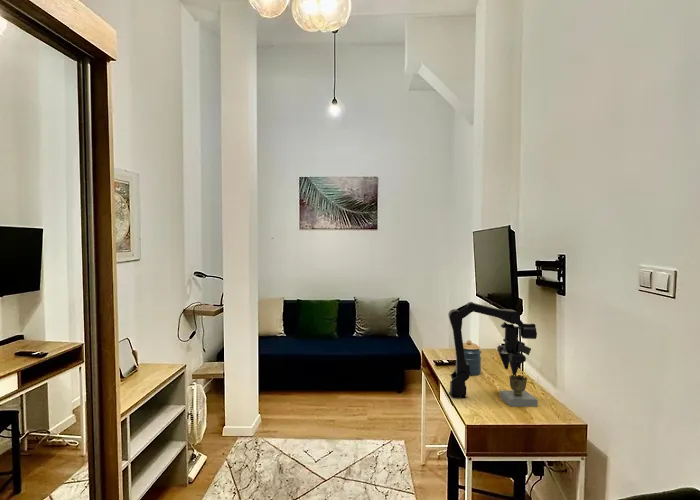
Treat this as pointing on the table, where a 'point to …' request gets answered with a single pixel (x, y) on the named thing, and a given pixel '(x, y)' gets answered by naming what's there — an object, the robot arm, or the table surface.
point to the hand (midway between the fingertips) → (510, 372)
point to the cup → (518, 384)
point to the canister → (472, 357)
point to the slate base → (518, 399)
